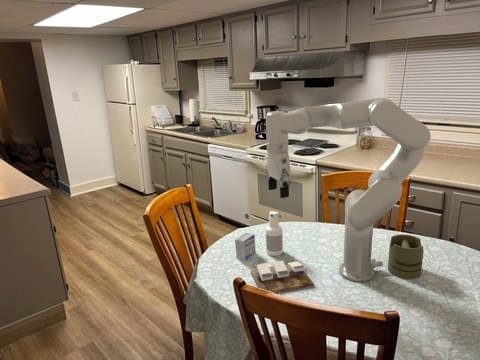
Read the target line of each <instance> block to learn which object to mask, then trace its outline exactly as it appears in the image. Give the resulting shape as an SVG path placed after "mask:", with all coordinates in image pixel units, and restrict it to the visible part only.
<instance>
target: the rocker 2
mask: <svg viewBox="0 0 480 360" xmlns="http://www.w3.org/2000/svg"><path fill="white" fill-rule="evenodd" d="M287 264H288V266H289V267H290V268H291V269H292V270H293V271H294V272H298V271H306V267H305V265H303V264H302V263H300V261H291V262H287Z"/></svg>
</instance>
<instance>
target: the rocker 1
mask: <svg viewBox="0 0 480 360" xmlns="http://www.w3.org/2000/svg"><path fill="white" fill-rule="evenodd" d="M269 267H270V266H269V264H268V262H267V263H266V262H265V263H259V264H256V269H258V272H259V274H260V277H261V280H262V281H264V280H270V279H273V275H272V273H271V270H270V268H269Z"/></svg>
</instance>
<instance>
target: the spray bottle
mask: <svg viewBox="0 0 480 360" xmlns="http://www.w3.org/2000/svg"><path fill="white" fill-rule="evenodd" d="M265 244H266V245H265V246H266V247H265V252H266V254H267V255H268V256H272V257H278V256H280V255H282V254H283V245H284V244H283V227H282V226H281V225H280V221H279V215H278V211H274V210H271V211H269V215H268V225H267V226H266V227H265Z"/></svg>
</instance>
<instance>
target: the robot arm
mask: <svg viewBox="0 0 480 360" xmlns="http://www.w3.org/2000/svg"><path fill="white" fill-rule="evenodd" d="M373 126H374V127H375V128H376V129H378V130H379V131H380V132H382V133H383V134H384V135H385V136H387V137H388V138H390V140H391V139H392V140H393V141H394V142H396V143H397V144H396V147H395V149H394V150H393V152H392V153H391V155H390V156H389V157H388V158H387V159H386V160H385V161H384V162H382V164H381V165H380V166H379V167H378V168H377V169H376V170H374V172H373V173H371V175H370V176H369V178H368V181H367V184H368V185H367V186H368V188H367V189H366V190H363V189H354V190H353V191H351V192H350V193H349V194H348V195H347V197H346V199H345V204H344V213H345V214H344V240H343V262H342V263H341V264H340V265H339V266H338V272H339V274H340V275H341V276H342V278H344V279H347V280H349V281H352V282H353V281H354V282H366V281H370V280H372V279H373V278H375V275H376V274H375V273H376V271H375V268H376V267H383V265H384V264H383V261H382V260H378V261H377V260H376V259H375V258H372V248H373V235H374V225H375V224H376V223H377V222H378V221H379V220H380V219H382V218H383V217H385V215H386V214H387V213H388V212H389V211H390V210H391V209H392V208H394V206H396V204H397V203H398V202H399V200H400V199H401V197H402V193H403V186H402V183H403V182H404V181H405V180H406V179H407V178H408V177H409V176H410V175H411V173H413V172H414V170H415V169H416V168H417V167H418V166H419V164H420V163H421V161H422V159H423V157H424V156H423V155H424V152H425V148H426V147H427V146H428V145H429V143H430V141H431V139H432V137H431V130H430V129H429V128H428V126H427V125H426V124H424V123H423V122H421V121H420V120H419V119H417V118H415V117H413V116H412V115H411V114H409V113H407V112H406V111H405V110H404V109H402V108H401V107H400V106H399V105H397V104H396V103H395V102H394V101H392V100H391V99H389V98H385V97H378V98H370V99H362V100H361V99H360V100H355V101H347V102H340V103H339V102H338V103H332V104H323V105H315V106H307V107H300V108H296V109H295V110H294V111H292V112H286V111H284V110H273V111H272V110H271V111H268V112H267V113H266V115H265V127H266V128H265V130H266V131H265V134H266V135H265V136H266V152H267V162H266V163H267V165H266V170H267V172H266V174H267V183H268V186H267V187H268V190H269V191H273V190H274V191H275V190H277V188H278V187H277V186H278V182H279V185H280V186H279V197H280V198H281V199H284V198H285V199H286V198H289V196H290V186H291V185H290V184H291V179H292V177H291V174H292V173H291V172H292V171H291V160H290V154H289V134H293V135H302V134H305V133H306V132H307V131H309V129H311V128H313V129H314V128H321V127H322V128H323V127H325V128H326V127H330V128H334V129H339V130H348V129H355V128H365V127H373Z"/></svg>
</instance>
